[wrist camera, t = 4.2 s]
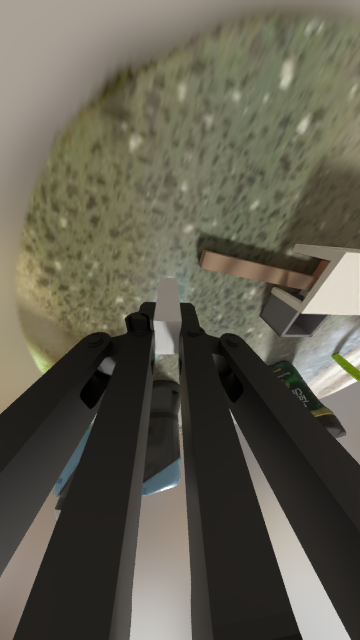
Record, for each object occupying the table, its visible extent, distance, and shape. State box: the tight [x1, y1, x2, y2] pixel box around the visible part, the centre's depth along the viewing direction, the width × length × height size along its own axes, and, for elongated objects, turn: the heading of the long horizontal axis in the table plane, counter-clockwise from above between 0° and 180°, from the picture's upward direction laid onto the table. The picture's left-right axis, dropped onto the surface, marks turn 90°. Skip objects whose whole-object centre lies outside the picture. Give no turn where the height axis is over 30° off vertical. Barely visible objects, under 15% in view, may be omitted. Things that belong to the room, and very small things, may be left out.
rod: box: [199, 249, 319, 291], centre depth 24 cm, size 22×2×2 cm, turn 78°
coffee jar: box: [269, 361, 346, 438], centre depth 38 cm, size 10×8×19 cm
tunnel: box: [260, 244, 360, 337], centre depth 24 cm, size 14×15×8 cm
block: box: [312, 260, 331, 286], centre depth 24 cm, size 4×4×6 cm
